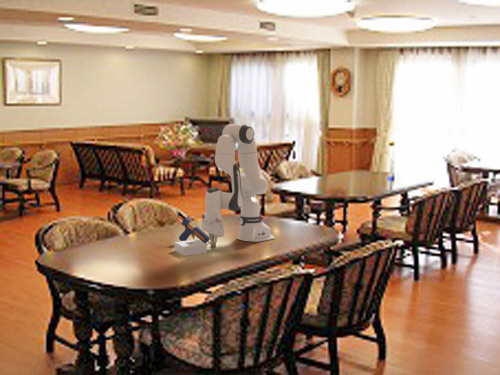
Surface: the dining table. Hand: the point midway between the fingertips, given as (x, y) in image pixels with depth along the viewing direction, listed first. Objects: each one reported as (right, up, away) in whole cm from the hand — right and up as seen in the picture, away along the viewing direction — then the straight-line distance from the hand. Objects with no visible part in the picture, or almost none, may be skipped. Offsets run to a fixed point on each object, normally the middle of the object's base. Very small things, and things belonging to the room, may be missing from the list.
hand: (213, 241), depth 371 cm
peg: (0, -4, +1) cm, 4 cm away
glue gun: (-11, -2, +16) cm, 20 cm away
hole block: (-12, -5, -6) cm, 14 cm away
